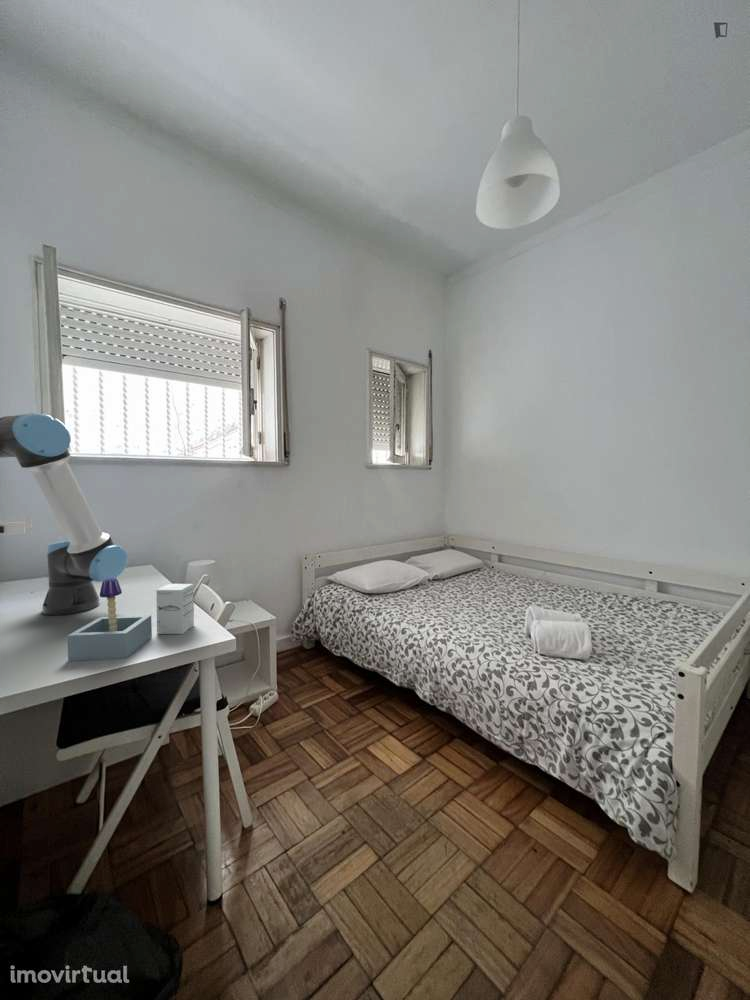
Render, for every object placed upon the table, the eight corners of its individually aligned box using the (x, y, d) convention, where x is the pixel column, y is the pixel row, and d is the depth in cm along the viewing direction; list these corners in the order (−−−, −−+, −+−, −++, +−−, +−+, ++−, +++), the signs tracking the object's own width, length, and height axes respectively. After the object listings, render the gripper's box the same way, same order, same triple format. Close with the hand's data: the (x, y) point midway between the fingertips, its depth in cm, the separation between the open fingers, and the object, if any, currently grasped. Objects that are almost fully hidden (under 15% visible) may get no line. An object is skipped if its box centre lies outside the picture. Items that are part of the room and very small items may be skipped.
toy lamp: (103, 649, 95) (101, 582, 95) (98, 644, 99) (97, 579, 98) (126, 643, 99) (124, 578, 98) (120, 638, 102) (119, 575, 101)
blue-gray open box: (100, 639, 104) (100, 617, 104) (151, 636, 106) (151, 615, 106) (68, 660, 91) (67, 635, 91) (126, 657, 93) (126, 633, 93)
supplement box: (155, 634, 107) (154, 589, 107) (170, 625, 115) (169, 582, 114) (182, 634, 107) (181, 589, 107) (195, 625, 115) (194, 582, 114)
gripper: (-86, 543, 91) (34, 535, 103) (-135, 559, 71) (21, 547, 83) (-87, 511, 91) (33, 507, 103) (-137, 518, 70) (20, 512, 83)
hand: (28, 525), depth 93 cm, fingers open, 13 cm apart
